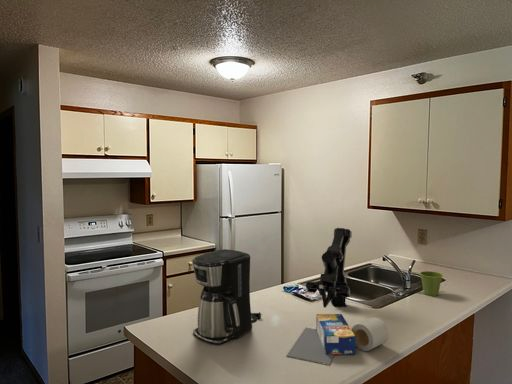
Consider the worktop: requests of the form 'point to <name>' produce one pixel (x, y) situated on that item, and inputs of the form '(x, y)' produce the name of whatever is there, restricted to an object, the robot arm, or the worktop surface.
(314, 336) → the mat
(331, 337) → the beverage box
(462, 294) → the worktop surface
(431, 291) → the plant pot
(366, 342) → the toilet paper
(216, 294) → the coffee maker
